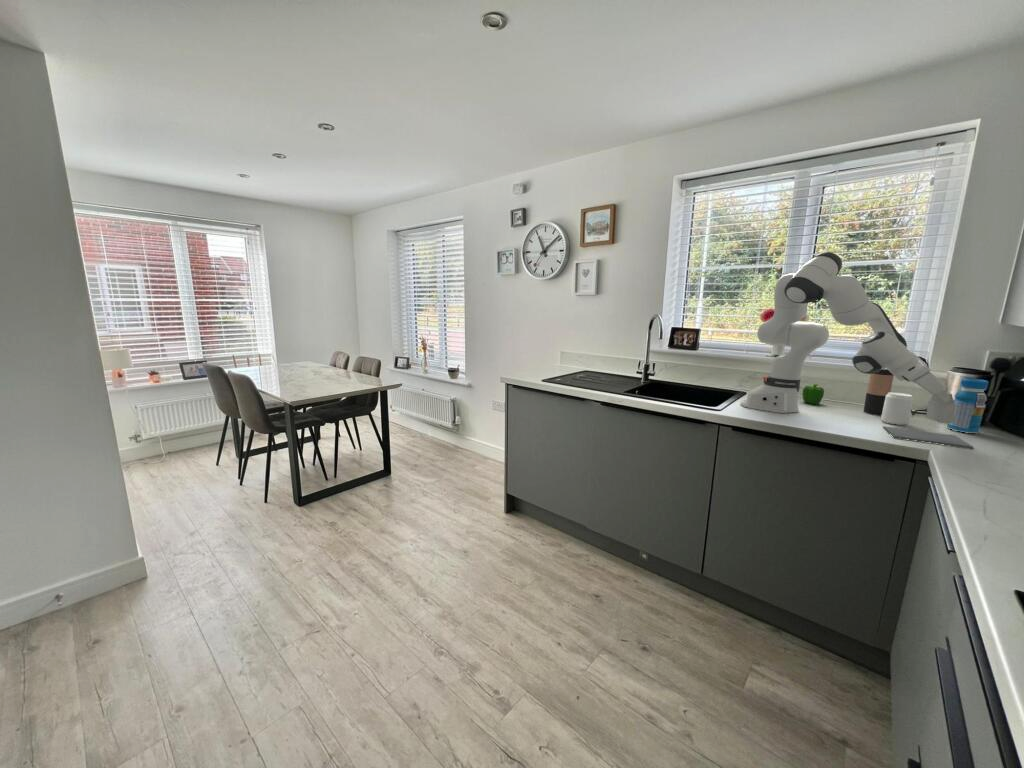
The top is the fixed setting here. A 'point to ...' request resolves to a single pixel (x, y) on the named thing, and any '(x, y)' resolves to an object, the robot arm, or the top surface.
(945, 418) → the grey block
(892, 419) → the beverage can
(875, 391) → the travel mug
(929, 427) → the top surface
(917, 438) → the charcoal mat
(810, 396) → the bell pepper
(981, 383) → the beverage bottle
